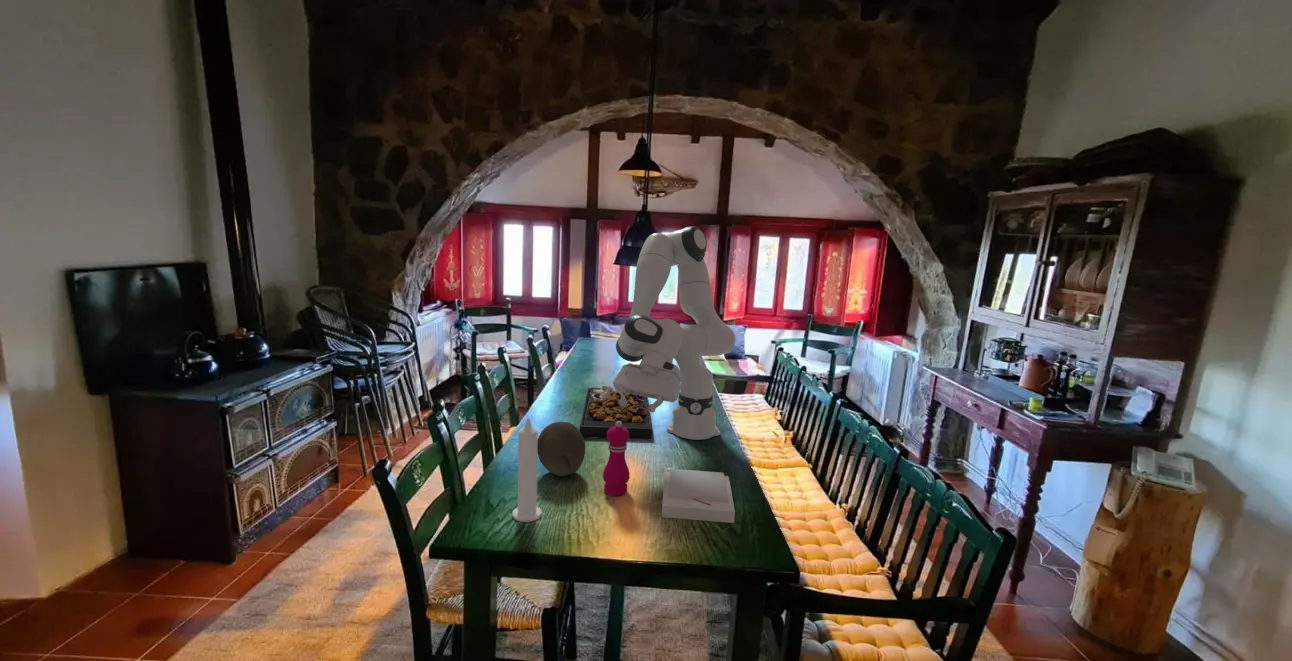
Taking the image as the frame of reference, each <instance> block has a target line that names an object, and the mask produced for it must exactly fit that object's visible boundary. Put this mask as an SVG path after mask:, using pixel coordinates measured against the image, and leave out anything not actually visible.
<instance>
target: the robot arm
mask: <svg viewBox="0 0 1292 661" xmlns="http://www.w3.org/2000/svg"><path fill="white" fill-rule="evenodd" d="M707 245H708V242H707V237H706V235H705V232H704V231H703V230H702V229H700V227H698V226H696V225H695V226H686V227H684V228H681V229H678V230H674V231H672V232H670V233H668V234H665V233H662V232H655V233H652V234H650V235H649V236H648V237H646V239H645V241H644V243H643V245H642V248H641V250H640V253H639V255H638V260H637V263H636V268H635V277H634V291H633V292H634V293H633V302H632V304H631V305H632V306H631V309H630V312H629V316H628V318H627V319H626V321H625V323H624V325H623V328H622V330H621V333H620V334H619V335H620V336H619V337H618V339H617V340H616V343H615V350H616V352H617V355H618V356H619V357H620V358H621V359H622V360H624V361H627V362H629V363H626V364H623V365H622V366H621V368H620V370H619V371H618V373H617V374H616V375H615V377H614V379H613V381H612V385H613V387H614V389H616V390H617V391H620V393H621V399H620V401H619V404H620V405H622V406H626V404H627V402H628V401H627V400H626V398H625V396H627V395H628V393H629V394H634V395H639V396H643V397H648V399H649V398H650V399H653V400H655V401H654V402H653V403H649V407H648V410H649V412H650V413H653V414H654V413H655V412H656V410H657V408H658V407H660V406H661V405H662V404H663V403H664V402H666V403H675V402H676V401H677V400H678V404H677V406H675V408H673V409H672V415H673V416H672V420H671V421H670V423H669V424H668V426H667V427H666V432H667V433H672V434H674V435H675V436H677V437H680V438H683V439H687V440H697V441H698V440H701V441H702V440H708V439H710V438H712V437H717V436H720V435H721V431H720V430H719V429H718V427H717V425H716V421H717V412H716V410H715V409H714V408H713V403H714V396H713V386H714V385H713V384H714V376H713V373H712V370H710V369H709V368H708V367H706V366H705V365H702V364H701V361H700V357H713V356H714V357H716V356H717V357H718V356H721V355H726V354H729V353H731V352H732V351H733V349H734V348H735V344H736V336H735V332H734V330H733V329H732V327H730V326H728V325H727V324H726V323H725V322H724V321H723V320H722V319H721V318H720V316H719V315H718V313H717V311H716V309H715V307H714V302H713V297H712V296H713V295H712V291H711V289H712V288H711V282H710V281H711V280H710V274H709V271H708V267H707V264H706V261H705V259H704V258H705V255H706V252H707ZM675 266H677V269H678V272H677V273H678V275H677V277H678V278H677V279H678V281H677V282H678V283H677V284H678V295H679V306H680V308H681V310H682V312H683V313H684V314H685V315H687V316H689V317H691V318H692V319H693V320H694V321H695V324H679V323H678V322H677V321H675V320H674V319H671V318H663V319H662V318H661V319H658V318H657V319H656V318H651V317H650V315H651V311H652V309H653V307H654V305H655V303H656V301H657V299H658V298H659V296H660V295H661V293H662V291H663V289H664V288H665V286H666V284H667V283H668V282H667V281H668V280H669V276H670V274H671V271H672V267H675ZM674 360H675V362H676V363H677V365H676V364H674V362H673V361H674ZM634 362H635V363H634ZM636 362H640V363H639V364H636Z"/></svg>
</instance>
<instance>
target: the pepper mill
mask: <svg viewBox="0 0 1292 661" xmlns="http://www.w3.org/2000/svg"><path fill="white" fill-rule="evenodd" d="M606 439H607V441H608V444H607V445H608V447H607V449H608V451H609V456H608V461H607V462H606V465H605V467H604V469H603V473H602V479H603V481H604V482H605V483H604V485H603V486H604V487H603V488H604V489H603V491H604V493H605V494H606V495H608V496H611V497H612V496H613V497H620V496H621V497H622V496H624V495H626V494H627V492H628V482H629V481H630V478H631V477H630V476H631V475H630V470H629V467H628V464H627V461H626V451H627V450H628V449H627V448H628V447H627V446H628V444H627V442H628V441H629V440H630V439H629V432H628V430H627V429H626V428H625V427H623V426H622V423H621V421H617V422H616V423H615V426H613V427H611V428H610V429H609V430H608V432H607V438H606Z"/></svg>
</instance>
